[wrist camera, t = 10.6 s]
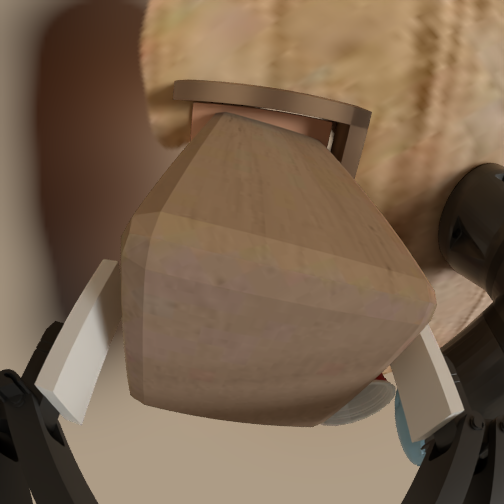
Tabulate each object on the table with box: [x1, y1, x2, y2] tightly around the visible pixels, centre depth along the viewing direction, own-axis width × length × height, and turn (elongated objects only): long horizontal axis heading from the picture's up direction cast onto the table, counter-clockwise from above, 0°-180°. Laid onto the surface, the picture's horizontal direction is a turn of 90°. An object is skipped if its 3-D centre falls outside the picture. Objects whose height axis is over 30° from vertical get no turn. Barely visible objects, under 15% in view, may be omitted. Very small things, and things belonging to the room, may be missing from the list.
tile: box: [190, 102, 333, 148], centre depth 26 cm, size 12×12×1 cm
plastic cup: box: [321, 373, 395, 426], centre depth 34 cm, size 11×11×12 cm
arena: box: [173, 80, 372, 179], centre depth 24 cm, size 15×15×4 cm
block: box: [121, 112, 437, 427], centre depth 17 cm, size 10×10×20 cm
